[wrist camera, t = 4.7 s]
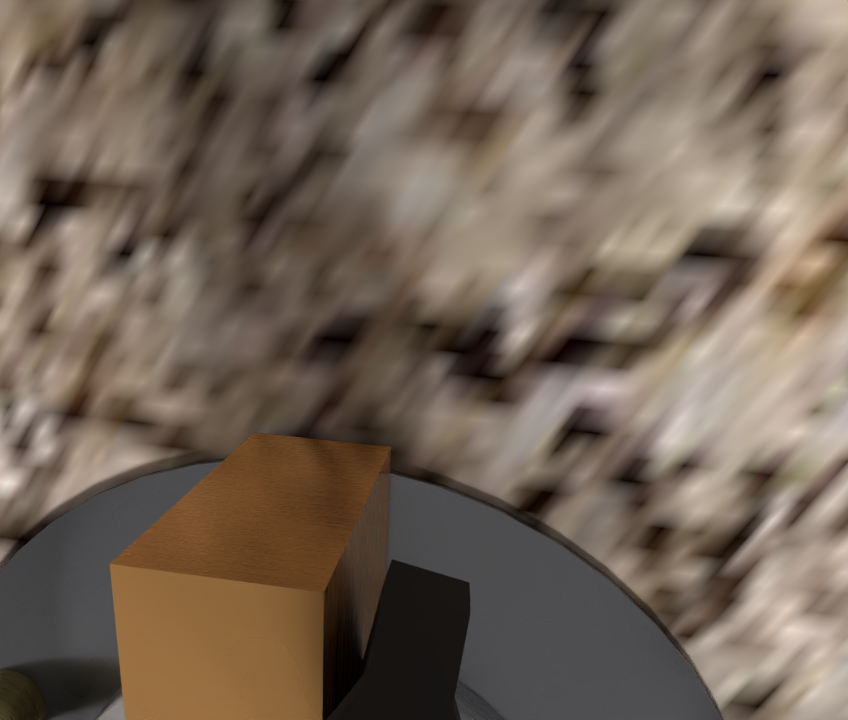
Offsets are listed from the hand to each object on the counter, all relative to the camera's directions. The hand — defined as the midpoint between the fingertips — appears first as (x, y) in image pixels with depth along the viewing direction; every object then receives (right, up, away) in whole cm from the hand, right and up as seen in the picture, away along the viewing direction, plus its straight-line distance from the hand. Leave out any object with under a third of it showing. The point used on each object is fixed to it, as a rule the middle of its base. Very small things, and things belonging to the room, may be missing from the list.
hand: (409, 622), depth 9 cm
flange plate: (-2, -5, +3) cm, 6 cm away
